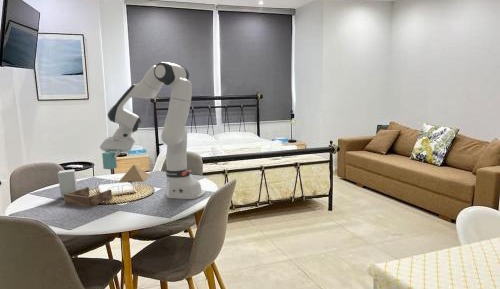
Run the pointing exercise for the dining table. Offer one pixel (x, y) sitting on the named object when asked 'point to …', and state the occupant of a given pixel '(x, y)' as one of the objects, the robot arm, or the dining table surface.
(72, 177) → the skincare box
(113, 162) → the teal block
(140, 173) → the model pyramid
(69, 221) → the dining table surface
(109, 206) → the dining table surface
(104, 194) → the walnut crate
